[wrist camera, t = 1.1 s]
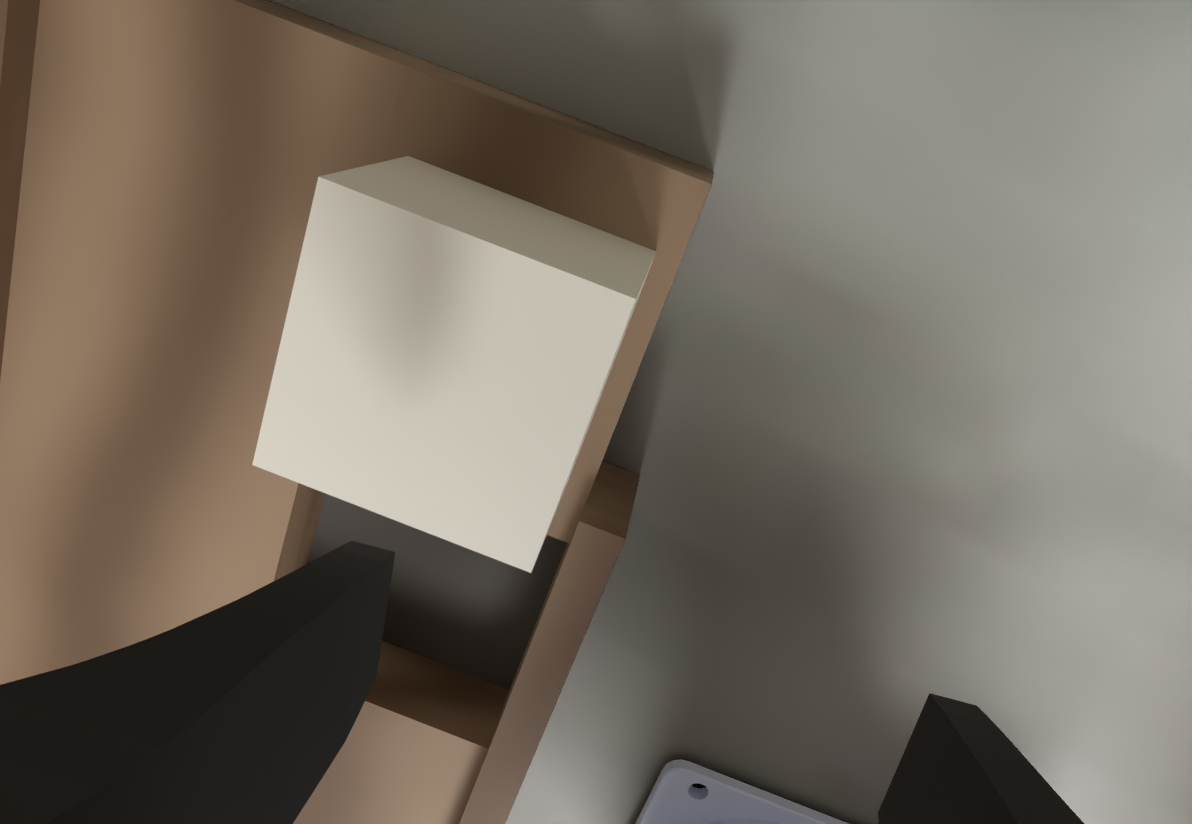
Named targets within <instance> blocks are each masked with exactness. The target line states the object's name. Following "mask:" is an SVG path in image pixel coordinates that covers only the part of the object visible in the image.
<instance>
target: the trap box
mask: <svg viewBox="0 0 1192 824" xmlns="http://www.w3.org/2000/svg"><path fill="white" fill-rule="evenodd" d="M405 156H410V157H413V158H415V159H418V160H420V161H423V162H426V163H428V164H431V165H433V166H436V167H439V168H441V169H444V170H446V171H449V172H452V173H454V174H457V175H459V176H462V177H465V178H467V179H470V180H472V181H475V182H478V183H480V184H483V185H485V186H488V187H491V188H493V189H496V190H498V191H501V192H503V193H506V194H509V195H511V196H514V197H516V198H519V199H522V200H524V201H527V202H529V203H532V204H535V205H537V206H540V207H542V208H545V209H548V210H550V211H553V212H555V213H558V214H561V215H563V216H566V217H568V218H571V219H574V220H576V221H579V222H581V223H584V224H587V225H589V226H592V227H594V228H597V229H599V230H602V231H605V232H607V233H610V234H612V235H615V236H618V237H620V238H623V239H625V240H628V241H631V242H633V243H636V244H638V245H641V246H644V247H646V248H649V249H651V250H654V251H656V254H655V256H654V259H653V262H652V264H651V267H650V269H649V272H648V275H647V277H646V280H645V283H644V285H643V288H642V290H641V293H640V296H639V298H638V301H637V303H636V306H635V309H634V311H633V314H632V316H631V319H630V322H629V324H628V327H627V329H626V332H625V335H624V337H623V340H622V342H621V345H620V348H619V350H618V353H617V356H616V358H615V361H614V363H613V366H612V369H611V371H610V374H609V376H608V379H607V382H606V384H605V387H604V389H603V392H602V395H601V397H600V400H599V402H598V405H597V408H596V410H595V413H594V415H593V418H592V421H591V423H590V426H589V429H588V431H587V434H586V436H585V439H584V442H583V444H582V447H581V449H580V452H579V455H578V457H577V460H576V462H575V465H574V468H573V470H572V473H571V475H570V478H569V480H568V483H567V485H566V488H565V490H564V493H563V495H562V498H561V500H560V503H559V505H558V508H557V510H556V513H555V515H554V518H553V520H552V523H551V525H550V528H549V530H548V532H547V535H546V537H545V540H544V542H543V545H542V547H541V550H540V552H539V555H538V557H537V560H536V562H535V565H534V567H533V570H532V572H531V573H529V572H527V571H524V570H522V569H519V568H517V567H514V566H511V565H509V564H506V563H504V562H501V561H498V560H496V559H493V558H491V557H488V556H486V555H483V554H480V553H478V552H475V551H473V550H470V549H468V548H465V547H462V546H460V545H457V544H455V543H452V542H450V541H447V540H444V539H442V538H439V537H437V536H434V535H431V534H429V533H426V532H424V531H421V530H419V529H416V528H413V527H411V526H408V525H406V524H403V523H401V522H398V521H395V520H393V519H390V518H388V517H385V516H383V515H380V514H377V513H375V512H372V511H370V510H367V509H364V508H362V507H359V506H357V505H354V504H352V503H349V502H346V501H344V500H341V499H339V498H336V497H334V496H331V495H328V494H326V493H323V492H321V491H318V490H316V489H313V488H310V487H308V486H305V485H303V484H300V483H297V482H295V481H292V480H290V479H287V478H285V477H282V476H279V475H277V474H274V473H272V472H269V471H267V470H264V469H261V468H259V467H256V466H254V465H252V464H253V459H254V455H255V451H256V446H257V442H258V438H259V433H260V429H261V425H262V420H263V416H264V411H265V407H266V403H267V398H268V394H269V390H270V385H271V381H272V377H273V372H274V368H275V364H276V359H277V355H278V351H279V346H280V342H281V337H282V333H283V329H284V324H285V320H286V316H287V311H288V307H289V303H290V298H291V294H292V290H293V285H294V281H295V276H296V272H297V268H298V263H299V259H300V255H301V250H302V246H303V242H304V237H305V233H306V229H307V224H308V220H309V215H310V211H311V207H312V202H313V198H314V194H315V189H316V185H317V181H318V177H319V176H323V175H328V174H332V173H336V172H341V171H345V170H349V169H354V168H358V167H362V166H366V165H371V164H375V163H379V162H384V161H388V160H392V159H397V158H401V157H405ZM713 174H714V172H713V171H710V170H708V169H705V168H703V167H700V166H697V165H695V164H692V163H690V162H687V161H684V160H682V159H679V158H677V157H674V156H672V155H669V154H666V153H664V152H661V151H659V150H656V149H653V148H651V147H648V146H646V145H643V144H640V143H638V142H635V141H633V140H630V139H627V138H625V137H622V136H620V135H617V134H614V133H612V132H609V131H607V130H604V129H601V128H599V127H596V126H594V125H591V124H588V123H586V122H583V121H581V120H578V119H575V118H573V117H570V116H568V115H565V114H562V113H560V112H557V111H555V110H552V109H549V108H547V107H544V106H542V105H539V104H536V103H534V102H531V101H529V100H526V99H523V98H521V97H518V96H516V95H513V94H510V93H508V92H505V91H503V90H500V89H497V88H495V87H492V86H490V85H487V84H484V83H482V82H479V81H477V80H474V79H471V78H469V77H466V76H464V75H461V74H458V73H456V72H453V71H451V70H448V69H445V68H443V67H440V66H438V65H435V64H432V63H430V62H427V61H425V60H422V59H419V58H417V57H414V56H412V55H409V54H406V53H404V52H401V51H399V50H396V49H393V48H391V47H388V46H386V45H383V44H380V43H378V42H375V41H373V40H370V39H367V38H365V37H362V36H360V35H357V34H354V33H352V32H349V31H347V30H344V29H341V28H339V27H336V26H334V25H331V24H328V23H326V22H323V21H321V20H318V19H315V18H313V17H310V16H308V15H305V14H302V13H300V12H297V11H295V10H292V9H289V8H287V7H284V6H282V5H279V4H276V3H274V2H271V1H269V0H0V685H1V684H5V683H9V682H12V681H16V680H19V679H23V678H27V677H30V676H34V675H38V674H41V673H45V672H49V671H52V670H56V669H60V668H63V667H67V666H70V665H73V664H77V663H80V662H83V661H86V660H89V659H92V658H95V657H98V656H101V655H104V654H106V653H109V652H112V651H115V650H118V649H121V648H124V647H127V646H130V645H132V644H135V643H138V642H140V641H143V640H145V639H148V638H151V637H153V636H156V635H158V634H161V633H163V632H166V631H168V630H171V629H173V628H175V627H177V626H180V625H182V624H184V623H186V622H189V621H191V620H193V619H195V618H198V617H200V616H202V615H204V614H207V613H209V612H211V611H213V610H215V609H218V608H220V607H222V606H224V605H227V604H229V603H231V602H233V601H236V600H238V599H240V598H242V597H244V596H246V595H248V594H250V593H252V592H254V591H256V590H258V589H260V588H262V587H264V586H266V585H267V584H269V583H271V582H273V581H275V580H277V579H279V578H281V577H283V576H285V575H287V574H289V573H291V572H293V571H295V570H297V569H298V568H300V567H302V566H304V565H306V564H308V563H310V562H312V561H314V560H315V559H317V558H319V557H321V556H323V555H325V554H327V553H329V552H330V551H332V550H334V549H336V548H338V547H340V546H342V545H344V544H346V543H348V542H350V541H355V542H359V543H363V544H366V545H370V546H374V547H378V548H382V549H385V550H389V551H393V552H395V558H394V564H393V571H392V578H391V584H390V591H389V597H388V604H387V611H386V617H385V624H384V630H383V637H382V644H381V650H380V657H379V663H378V670H377V676H376V678H375V681H374V683H373V685H372V687H371V689H370V691H369V693H368V696H367V698H366V700H365V702H364V704H363V706H362V708H361V711H360V713H359V715H358V717H357V719H356V721H355V723H354V725H353V727H352V729H351V731H350V733H349V735H348V737H347V739H346V741H345V743H344V744H343V746H342V748H341V749H340V751H339V752H338V754H337V756H336V757H335V759H334V760H333V762H332V763H331V765H330V767H329V768H328V770H327V771H326V773H325V774H324V776H323V778H322V779H321V781H320V782H319V784H318V785H317V787H316V789H315V790H314V792H313V793H312V795H311V796H310V798H309V799H308V801H307V803H306V804H305V806H304V807H303V809H302V810H301V812H300V813H299V815H298V816H297V818H296V820H295V821H294V823H293V824H505V823H506V820H507V818H508V815H509V813H510V811H511V808H512V806H513V804H514V801H515V799H516V797H517V794H518V792H519V789H520V787H521V785H522V782H523V780H524V778H525V775H526V773H527V771H528V768H529V766H530V763H531V761H532V759H533V756H534V754H535V752H536V749H537V747H538V745H539V742H540V740H541V737H542V735H543V733H544V730H545V728H546V726H547V723H548V721H549V718H550V716H551V714H552V711H553V709H554V707H555V704H556V702H557V700H558V697H559V695H560V692H561V690H562V688H563V685H564V683H565V681H566V678H567V676H568V674H569V671H570V669H571V666H572V664H573V662H574V659H575V657H576V655H577V652H578V650H579V648H580V645H581V643H582V640H583V638H584V636H585V633H586V631H587V629H588V626H589V624H590V621H591V619H592V617H593V614H594V612H595V610H596V607H597V605H598V603H599V600H600V598H601V595H602V593H603V591H604V588H605V586H606V584H607V581H608V579H609V577H610V574H611V572H612V569H613V567H614V565H615V562H616V560H617V558H618V555H619V553H620V551H621V548H622V546H623V543H624V541H625V538H626V534H627V530H628V525H629V521H630V516H631V512H632V508H633V503H634V499H635V494H636V490H637V486H638V481H639V477H640V475H639V474H636V473H634V472H631V471H628V470H626V469H623V468H621V467H618V466H615V465H613V464H610V463H608V462H605V461H603V457H604V455H605V452H606V450H607V447H608V445H609V442H610V440H611V437H612V435H613V432H614V430H615V427H616V425H617V422H618V420H619V417H620V415H621V412H622V409H623V407H624V404H625V402H626V399H627V397H628V394H629V392H630V389H631V387H632V384H633V382H634V379H635V377H636V374H637V372H638V369H639V367H640V364H641V361H642V359H643V356H644V354H645V351H646V349H647V346H648V344H649V341H650V339H651V336H652V334H653V331H654V329H655V326H656V324H657V321H658V319H659V316H660V313H661V311H662V308H663V306H664V303H665V301H666V298H667V296H668V293H669V291H670V288H671V286H672V283H673V281H674V278H675V276H676V273H677V271H678V268H679V266H680V263H681V260H682V258H683V255H684V253H685V250H686V248H687V245H688V243H689V240H690V238H691V235H692V233H693V230H694V228H695V225H696V223H697V220H698V218H699V215H700V212H701V210H702V207H703V205H704V202H705V200H706V197H707V195H708V192H709V190H710V187H711V185H712V180H713Z"/></svg>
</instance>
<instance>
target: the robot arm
mask: <svg viewBox="0 0 1192 824" xmlns="http://www.w3.org/2000/svg"><path fill="white" fill-rule="evenodd" d="M394 558H395V552H393V551H389V550H385V549H382V548H378V547H374V546H370V545H366V544H363V543H359V542H355V541H350V542H348V543H346V544H344V545H342V546H340V547H338V548H336V549H334V550H332V551H330V552H329V553H327V554H325V555H323V556H321V557H319V558H317V559H315V560H314V561H312V562H310V563H308V564H306V565H304V566H302V567H300V568H298V569H297V570H295V571H293V572H291V573H289V574H287V575H285V576H283V577H281V578H279V579H277V580H275V581H273V582H271V583H269V584H267V585H266V586H264V587H262V588H260V589H258V590H256V591H254V592H252V593H250V594H248V595H246V596H244V597H242V598H240V599H238V600H236V601H233V602H231V603H229V604H227V605H224V606H222V607H220V608H218V609H215V610H213V611H211V612H209V613H207V614H204V615H202V616H200V617H198V618H195V619H193V620H191V621H189V622H186V623H184V624H182V625H180V626H177V627H175V628H173V629H171V630H168V631H166V632H163V633H161V634H158V635H156V636H153V637H151V638H148V639H145V640H143V641H140V642H138V643H135V644H132V645H130V646H127V647H124V648H121V649H118V650H115V651H112V652H109V653H106V654H104V655H101V656H98V657H95V658H92V659H89V660H86V661H83V662H80V663H77V664H73V665H70V666H67V667H63V668H60V669H56V670H52V671H49V672H45V673H41V674H38V675H34V676H30V677H27V678H23V679H19V680H16V681H12V682H9V683H5V684H1V685H0V824H293V823H294V821H295V820H296V818H297V816H298V815H299V813H300V812H301V810H302V809H303V807H304V806H305V804H306V803H307V801H308V799H309V798H310V796H311V795H312V793H313V792H314V790H315V789H316V787H317V785H318V784H319V782H320V781H321V779H322V778H323V776H324V774H325V773H326V771H327V770H328V768H329V767H330V765H331V763H332V762H333V760H334V759H335V757H336V756H337V754H338V752H339V751H340V749H341V748H342V746H343V744H344V743H345V741H346V739H347V737H348V735H349V733H350V731H351V729H352V727H353V725H354V723H355V721H356V719H357V717H358V715H359V713H360V711H361V708H362V706H363V704H364V702H365V700H366V698H367V696H368V693H369V691H370V689H371V687H372V685H373V683H374V681H375V678H376V676H377V670H378V663H379V657H380V650H381V644H382V637H383V630H384V624H385V617H386V611H387V604H388V597H389V591H390V584H391V578H392V571H393V564H394ZM696 783H699V784H703V785H704V786H706V787H705V788H701V789H699V788H694V787H693V786H691V785H692V784H696ZM878 820H879V824H1084V823H1083V822H1082V821H1081V820H1080V819H1079V817H1078V816H1077V815H1076V814H1075V813H1074V812H1073V811H1072V810H1071V809H1070V808H1069V806H1068V805H1067V804H1066V803H1065V802H1064V801H1063V800H1062V799H1061V797H1060V796H1059V795H1058V794H1057V793H1056V792H1055V791H1054V790H1053V789H1052V787H1051V786H1050V785H1049V784H1048V783H1047V782H1046V781H1045V780H1044V778H1043V777H1042V776H1041V775H1040V774H1039V773H1038V772H1037V770H1036V769H1035V768H1034V767H1033V766H1032V765H1031V764H1030V763H1029V761H1028V760H1027V759H1026V758H1025V757H1024V756H1023V755H1022V754H1021V752H1020V751H1019V750H1018V749H1017V748H1016V747H1015V746H1014V745H1013V743H1012V742H1011V741H1010V740H1009V739H1008V738H1007V737H1006V736H1005V735H1004V733H1003V732H1002V731H1001V730H1000V729H999V728H998V727H997V726H996V725H995V724H994V723H993V722H992V721H991V720H990V719H989V717H988V716H987V715H986V714H985V713H983V712H982V711H981V710H980V709H979V708H978V707H977V706H975V705H972V704H968V703H964V702H960V701H956V700H953V699H949V698H945V697H941V696H938V695H934V694H929V696H928V698H927V701H926V703H925V705H924V708H923V710H922V712H921V714H920V717H919V719H918V721H917V724H916V726H915V728H914V731H913V733H912V735H911V738H910V740H909V742H908V745H907V747H906V749H905V752H904V754H903V756H902V759H901V761H900V763H899V765H898V768H897V770H896V772H895V775H894V777H893V779H892V782H891V784H890V786H889V789H888V791H887V793H886V796H885V798H884V800H883V803H882V805H881V807H880V810H879V812H878ZM635 824H849V823H846V822H843V821H841V820H838V819H836V818H833V817H831V816H828V815H825V814H823V813H820V812H818V811H815V810H813V809H810V808H807V807H805V806H802V805H800V804H797V803H795V802H792V801H789V800H787V799H784V798H782V797H779V796H777V795H774V794H771V793H769V792H766V791H764V790H761V789H759V788H756V787H753V786H751V785H748V784H746V783H743V782H741V781H738V780H735V779H733V778H730V777H728V776H725V775H723V774H720V773H717V772H715V771H712V770H710V769H707V768H705V767H702V766H699V765H697V764H694V763H692V762H689V761H685V760H681V759H680V760H673V761H671V762H669V763H667V764H666V765H665V766H664V767H663V769H662V771H661V773H660V775H659V777H658V779H657V781H656V783H655V785H654V787H653V789H652V791H651V793H650V795H649V797H648V799H647V801H646V803H645V805H644V807H643V809H642V811H641V813H640V815H639V817H638V819H637V821H636V823H635Z"/></svg>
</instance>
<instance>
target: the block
mask: <svg viewBox="0 0 1192 824" xmlns="http://www.w3.org/2000/svg"><path fill="white" fill-rule="evenodd" d="M655 254H656V251H654V250H651V249H649V248H646V247H644V246H641V245H638V244H636V243H633V242H631V241H628V240H625V239H623V238H620V237H618V236H615V235H612V234H610V233H607V232H605V231H602V230H599V229H597V228H594V227H592V226H589V225H587V224H584V223H581V222H579V221H576V220H574V219H571V218H568V217H566V216H563V215H561V214H558V213H555V212H553V211H550V210H548V209H545V208H542V207H540V206H537V205H535V204H532V203H529V202H527V201H524V200H522V199H519V198H516V197H514V196H511V195H509V194H506V193H503V192H501V191H498V190H496V189H493V188H491V187H488V186H485V185H483V184H480V183H478V182H475V181H472V180H470V179H467V178H465V177H462V176H459V175H457V174H454V173H452V172H449V171H446V170H444V169H441V168H439V167H436V166H433V165H431V164H428V163H426V162H423V161H420V160H418V159H415V158H413V157H410V156H405V157H401V158H397V159H392V160H388V161H384V162H379V163H375V164H371V165H366V166H362V167H358V168H354V169H349V170H345V171H341V172H336V173H332V174H328V175H323V176H319V177H318V181H317V185H316V189H315V194H314V198H313V202H312V207H311V211H310V215H309V220H308V224H307V229H306V233H305V237H304V242H303V246H302V250H301V255H300V259H299V263H298V268H297V272H296V276H295V281H294V285H293V290H292V294H291V298H290V303H289V307H288V311H287V316H286V320H285V324H284V329H283V333H282V337H281V342H280V346H279V351H278V355H277V359H276V364H275V368H274V372H273V377H272V381H271V385H270V390H269V394H268V398H267V403H266V407H265V411H264V416H263V420H262V425H261V429H260V433H259V438H258V442H257V446H256V451H255V455H254V459H253V464H252V465H254V466H256V467H259V468H261V469H264V470H267V471H269V472H272V473H274V474H277V475H279V476H282V477H285V478H287V479H290V480H292V481H295V482H297V483H300V484H303V485H305V486H308V487H310V488H313V489H316V490H318V491H321V492H323V493H326V494H328V495H331V496H334V497H336V498H339V499H341V500H344V501H346V502H349V503H352V504H354V505H357V506H359V507H362V508H364V509H367V510H370V511H372V512H375V513H377V514H380V515H383V516H385V517H388V518H390V519H393V520H395V521H398V522H401V523H403V524H406V525H408V526H411V527H413V528H416V529H419V530H421V531H424V532H426V533H429V534H431V535H434V536H437V537H439V538H442V539H444V540H447V541H450V542H452V543H455V544H457V545H460V546H462V547H465V548H468V549H470V550H473V551H475V552H478V553H480V554H483V555H486V556H488V557H491V558H493V559H496V560H498V561H501V562H504V563H506V564H509V565H511V566H514V567H517V568H519V569H522V570H524V571H527V572H529V573H531V572H532V570H533V567H534V565H535V562H536V560H537V557H538V555H539V552H540V550H541V547H542V545H543V542H544V540H545V537H546V535H547V532H548V530H549V528H550V525H551V523H552V520H553V518H554V515H555V513H556V510H557V508H558V505H559V503H560V500H561V498H562V495H563V493H564V490H565V488H566V485H567V483H568V480H569V478H570V475H571V473H572V470H573V468H574V465H575V462H576V460H577V457H578V455H579V452H580V449H581V447H582V444H583V442H584V439H585V436H586V434H587V431H588V429H589V426H590V423H591V421H592V418H593V415H594V413H595V410H596V408H597V405H598V402H599V400H600V397H601V395H602V392H603V389H604V387H605V384H606V382H607V379H608V376H609V374H610V371H611V369H612V366H613V363H614V361H615V358H616V356H617V353H618V350H619V348H620V345H621V342H622V340H623V337H624V335H625V332H626V329H627V327H628V324H629V322H630V319H631V316H632V314H633V311H634V309H635V306H636V303H637V301H638V298H639V296H640V293H641V290H642V288H643V285H644V283H645V280H646V277H647V275H648V272H649V269H650V267H651V264H652V262H653V259H654V256H655Z"/></svg>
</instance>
